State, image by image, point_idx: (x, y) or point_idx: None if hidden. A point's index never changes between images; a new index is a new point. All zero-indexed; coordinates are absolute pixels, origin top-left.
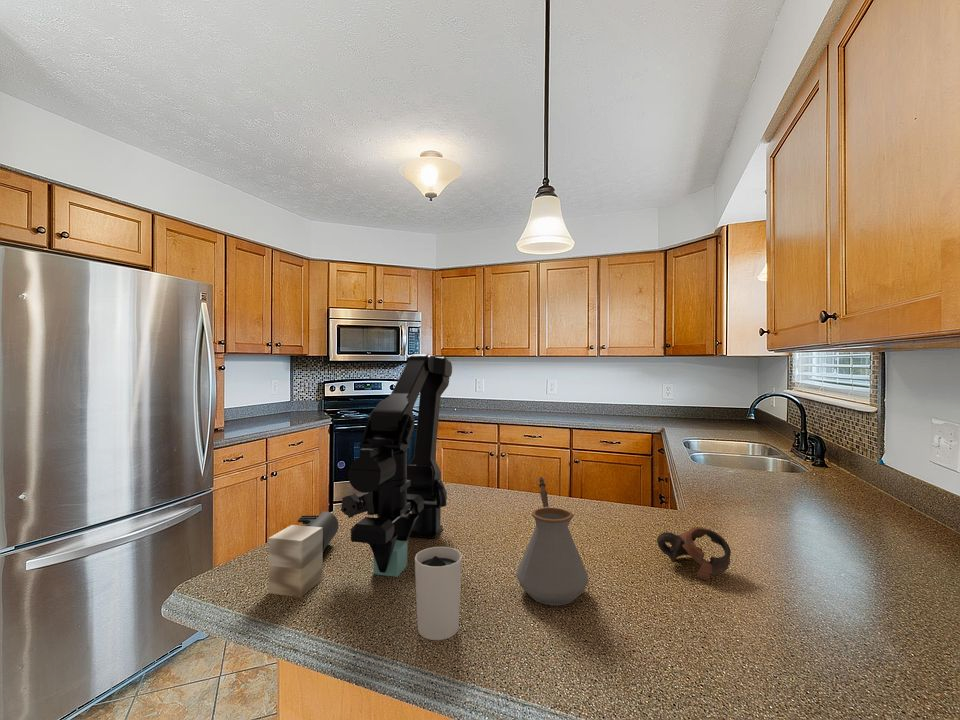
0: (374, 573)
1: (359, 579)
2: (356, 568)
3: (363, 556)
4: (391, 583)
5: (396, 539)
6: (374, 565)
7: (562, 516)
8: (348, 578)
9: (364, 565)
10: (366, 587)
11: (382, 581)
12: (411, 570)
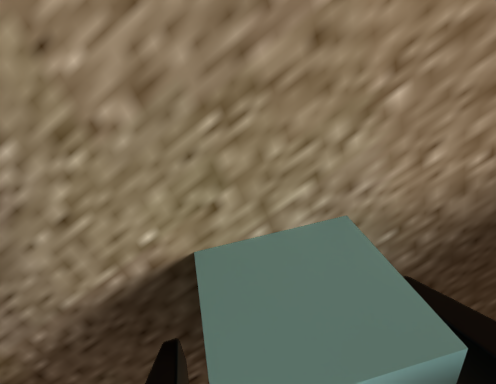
0: (195, 260)
1: (84, 229)
2: (213, 97)
3: (422, 4)
4: None
5: (482, 377)
6: (199, 298)
7: None
8: (43, 152)
9: (278, 122)
10: (32, 321)
11: (143, 337)
12: None
